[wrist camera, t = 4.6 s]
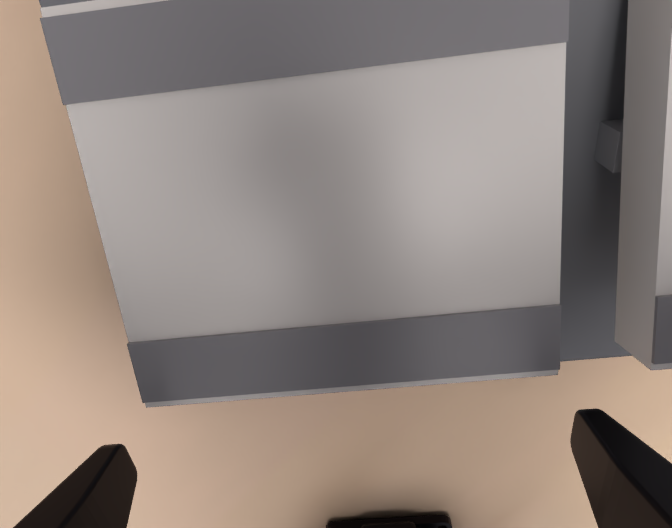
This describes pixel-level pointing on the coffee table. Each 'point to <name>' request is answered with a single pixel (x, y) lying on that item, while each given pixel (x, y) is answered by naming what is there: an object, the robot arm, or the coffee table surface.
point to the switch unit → (586, 176)
